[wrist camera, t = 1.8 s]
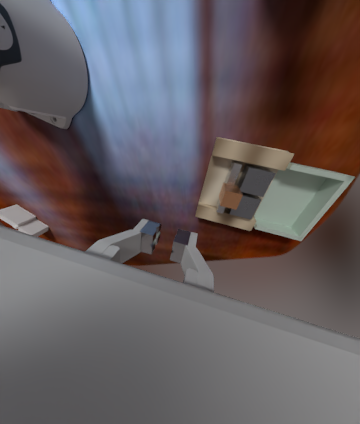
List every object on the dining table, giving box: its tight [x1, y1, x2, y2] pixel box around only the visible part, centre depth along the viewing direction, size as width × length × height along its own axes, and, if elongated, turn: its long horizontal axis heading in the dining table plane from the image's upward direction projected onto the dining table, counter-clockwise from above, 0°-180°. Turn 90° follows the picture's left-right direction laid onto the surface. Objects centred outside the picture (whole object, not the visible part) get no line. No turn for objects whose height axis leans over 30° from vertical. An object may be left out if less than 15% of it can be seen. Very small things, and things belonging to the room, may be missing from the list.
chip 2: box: [228, 192, 261, 219], centre depth 25 cm, size 4×4×3 cm
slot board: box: [195, 137, 294, 231], centre depth 25 cm, size 12×15×3 cm
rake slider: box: [216, 161, 243, 214], centre depth 22 cm, size 2×9×7 cm, turn 170°
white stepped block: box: [0, 204, 49, 237], centre depth 43 cm, size 15×11×6 cm
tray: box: [254, 163, 355, 241], centre depth 24 cm, size 8×12×4 cm
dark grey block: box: [237, 165, 276, 197], centre depth 23 cm, size 4×4×3 cm
